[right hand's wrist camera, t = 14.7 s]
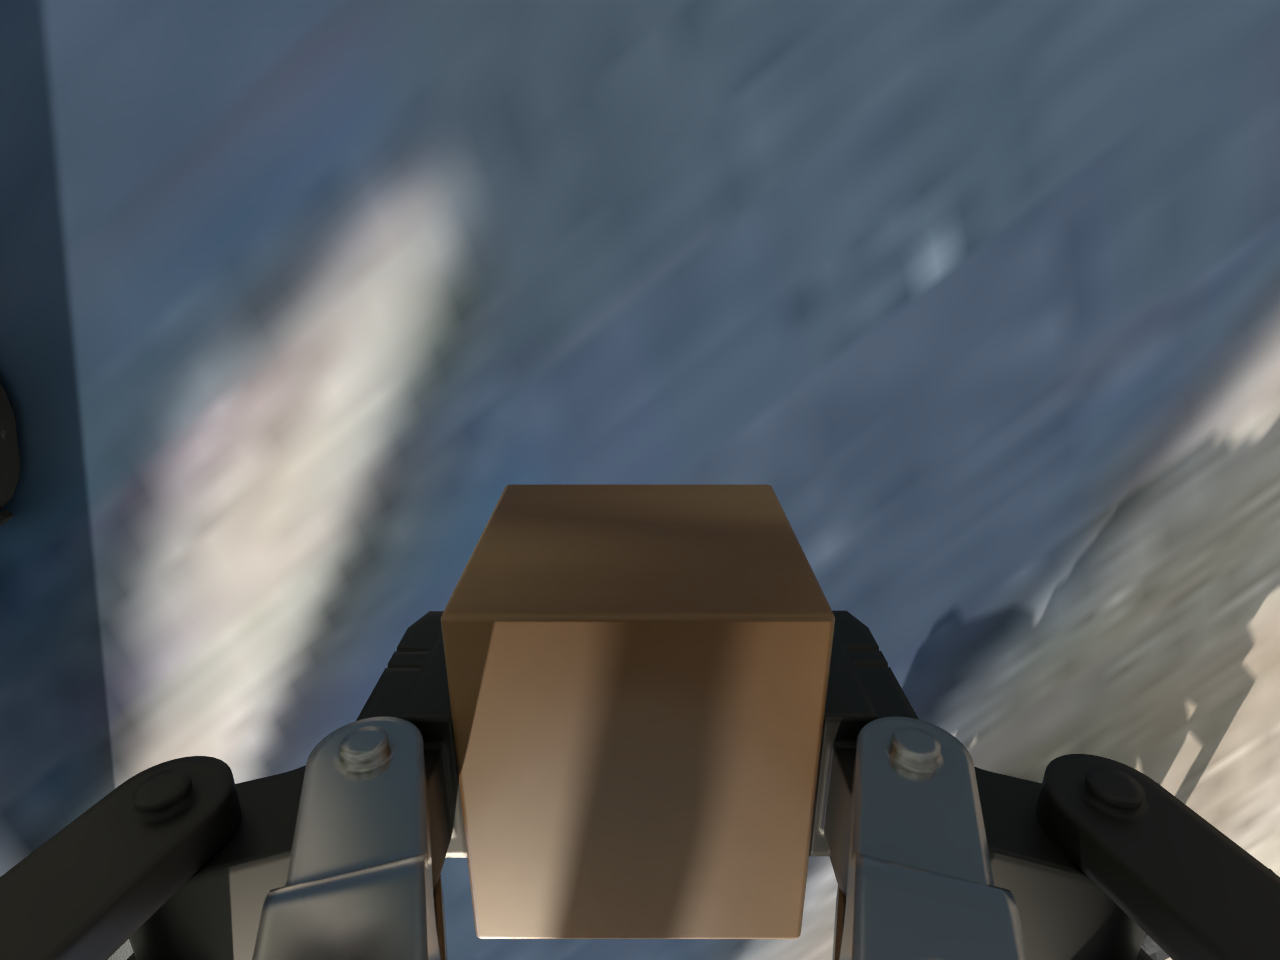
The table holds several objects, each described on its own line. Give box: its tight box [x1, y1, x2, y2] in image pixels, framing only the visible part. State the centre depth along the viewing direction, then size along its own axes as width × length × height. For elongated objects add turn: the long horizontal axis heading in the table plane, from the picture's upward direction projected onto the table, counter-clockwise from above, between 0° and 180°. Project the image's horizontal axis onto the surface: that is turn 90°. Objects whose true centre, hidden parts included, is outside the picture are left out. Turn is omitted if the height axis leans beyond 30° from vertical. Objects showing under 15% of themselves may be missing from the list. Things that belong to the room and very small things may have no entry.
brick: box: [441, 485, 835, 939], centre depth 11 cm, size 4×5×4 cm
